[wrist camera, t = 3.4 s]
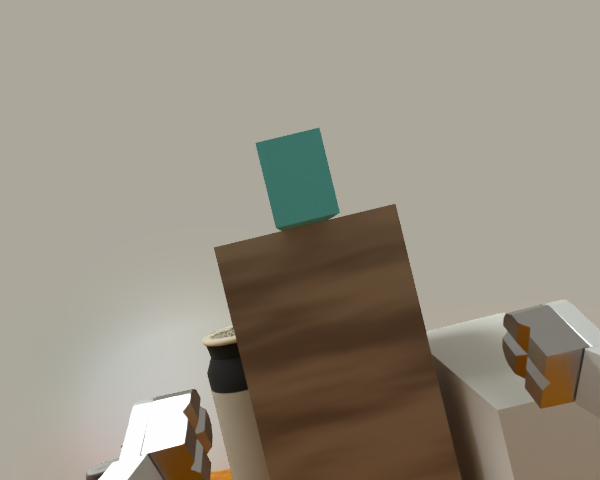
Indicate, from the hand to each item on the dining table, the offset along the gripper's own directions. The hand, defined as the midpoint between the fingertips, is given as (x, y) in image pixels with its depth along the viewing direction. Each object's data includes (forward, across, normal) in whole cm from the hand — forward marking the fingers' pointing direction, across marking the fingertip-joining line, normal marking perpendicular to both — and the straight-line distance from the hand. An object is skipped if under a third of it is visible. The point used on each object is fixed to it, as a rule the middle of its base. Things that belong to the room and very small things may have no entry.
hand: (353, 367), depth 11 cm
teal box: (+18, 0, -6) cm, 19 cm away
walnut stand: (+8, 0, -30) cm, 31 cm away
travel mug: (+16, -8, -35) cm, 39 cm away
